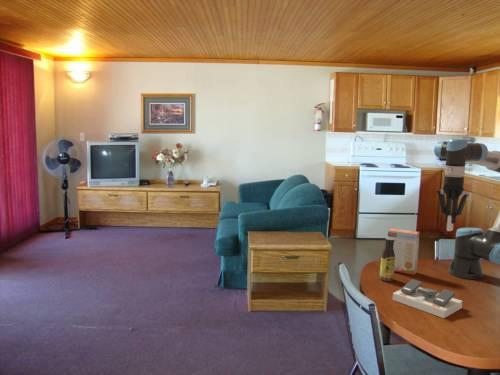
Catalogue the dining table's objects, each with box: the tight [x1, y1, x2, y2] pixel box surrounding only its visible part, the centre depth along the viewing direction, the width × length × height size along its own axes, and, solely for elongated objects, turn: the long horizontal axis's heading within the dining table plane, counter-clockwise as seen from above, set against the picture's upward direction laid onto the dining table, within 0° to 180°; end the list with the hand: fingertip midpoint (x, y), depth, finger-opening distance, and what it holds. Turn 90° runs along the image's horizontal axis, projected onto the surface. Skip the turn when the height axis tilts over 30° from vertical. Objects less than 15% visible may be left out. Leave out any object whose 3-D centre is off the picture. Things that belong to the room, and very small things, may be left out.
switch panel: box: [392, 286, 463, 319], centre depth 179 cm, size 15×22×4 cm
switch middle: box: [417, 287, 439, 295], centre depth 179 cm, size 9×4×2 cm, turn 131°
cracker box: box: [387, 227, 420, 276], centre depth 217 cm, size 14×6×21 cm, turn 58°
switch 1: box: [400, 278, 423, 295], centre depth 184 cm, size 9×4×2 cm, turn 130°
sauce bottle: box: [379, 237, 395, 282], centre depth 205 cm, size 6×6×20 cm
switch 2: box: [433, 288, 456, 306], centre depth 173 cm, size 9×4×2 cm, turn 130°
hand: (449, 230), depth 187 cm, fingers closed
